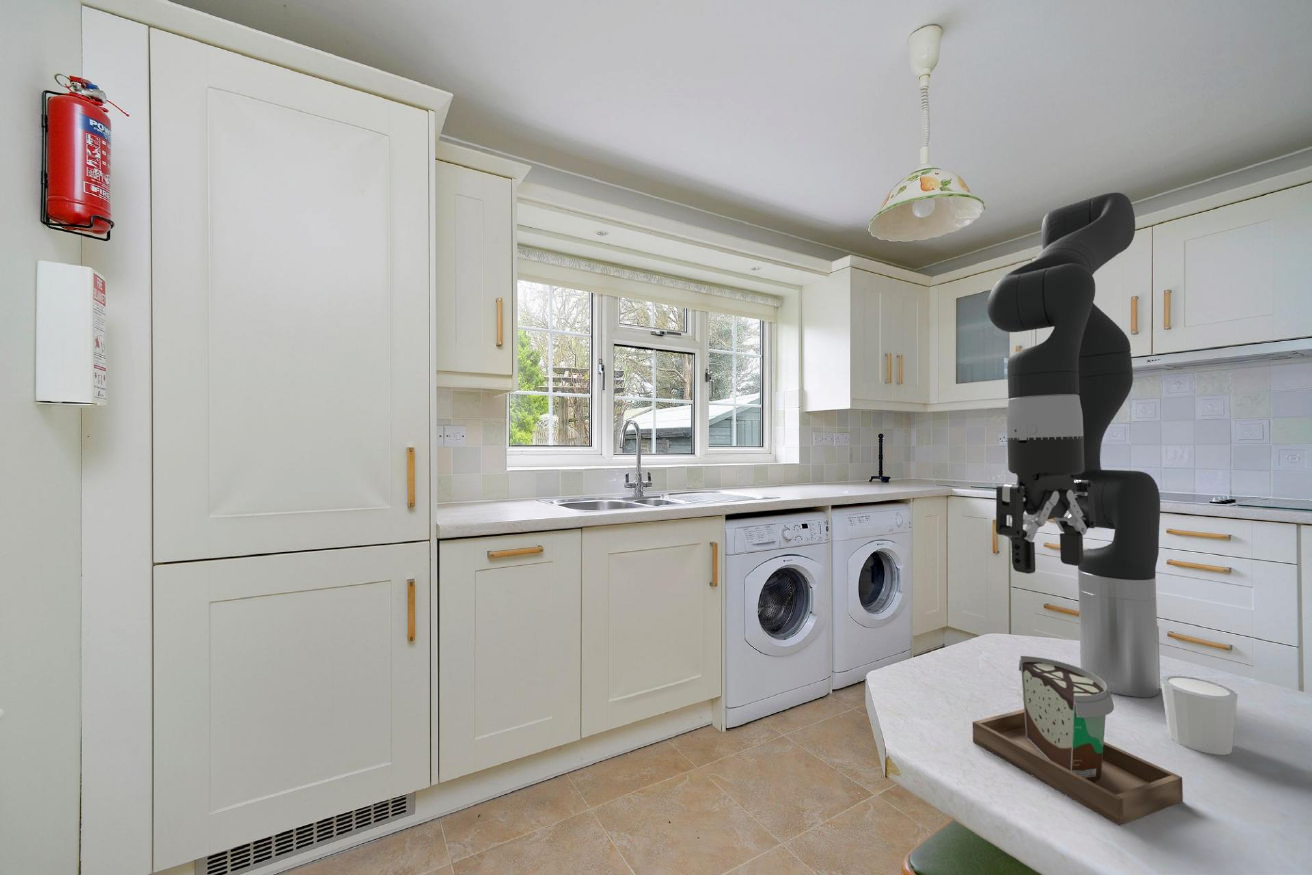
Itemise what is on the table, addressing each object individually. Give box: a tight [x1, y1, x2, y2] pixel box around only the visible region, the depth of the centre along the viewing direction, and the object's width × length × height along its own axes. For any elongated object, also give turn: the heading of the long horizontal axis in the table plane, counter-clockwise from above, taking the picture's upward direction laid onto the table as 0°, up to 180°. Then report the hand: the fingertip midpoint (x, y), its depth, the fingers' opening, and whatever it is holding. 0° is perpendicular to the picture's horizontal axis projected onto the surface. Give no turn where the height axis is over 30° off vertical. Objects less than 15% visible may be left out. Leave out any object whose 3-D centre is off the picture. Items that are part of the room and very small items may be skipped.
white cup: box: [1160, 675, 1239, 756], centre depth 68 cm, size 7×7×7 cm
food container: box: [1018, 655, 1115, 783], centre depth 63 cm, size 12×6×10 cm, turn 171°
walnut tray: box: [972, 708, 1184, 826], centre depth 63 cm, size 10×16×2 cm, turn 20°
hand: (1048, 568), depth 66 cm, fingers open, 8 cm apart
